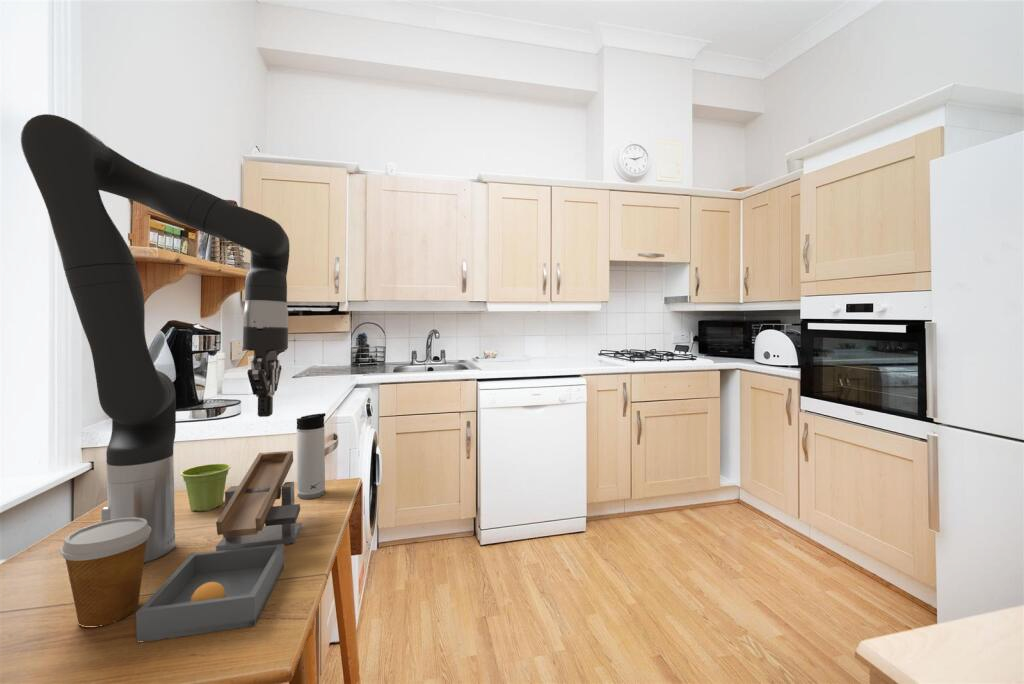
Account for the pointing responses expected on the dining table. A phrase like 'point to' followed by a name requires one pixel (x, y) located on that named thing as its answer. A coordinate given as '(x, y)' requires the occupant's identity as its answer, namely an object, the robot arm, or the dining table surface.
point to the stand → (268, 533)
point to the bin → (245, 597)
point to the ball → (208, 592)
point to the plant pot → (205, 485)
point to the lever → (259, 498)
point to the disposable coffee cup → (106, 568)
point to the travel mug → (310, 456)
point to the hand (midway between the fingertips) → (265, 415)
